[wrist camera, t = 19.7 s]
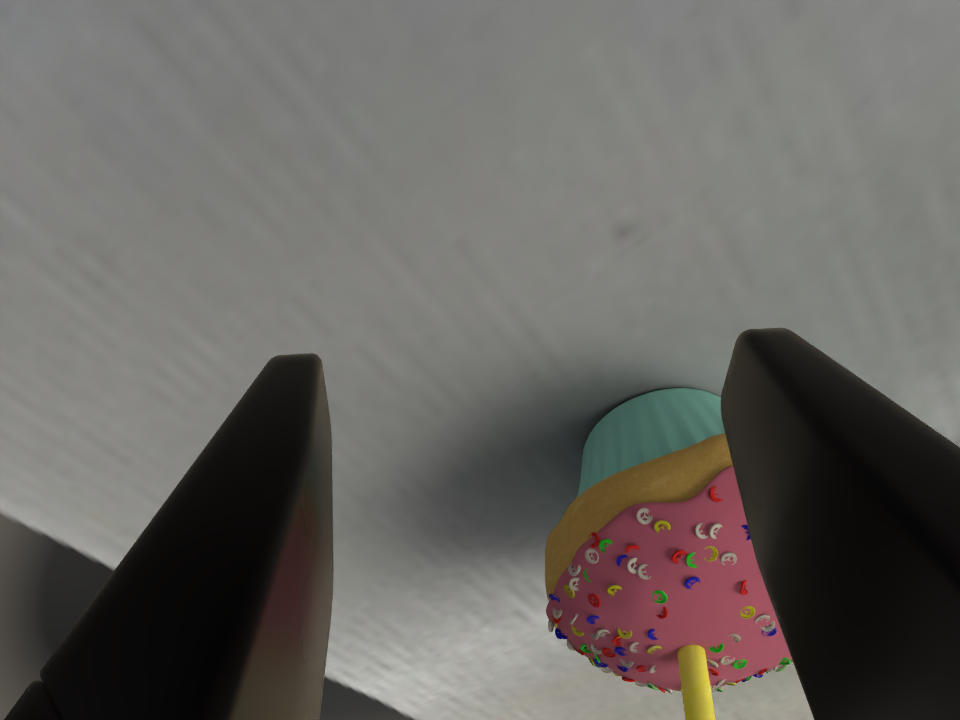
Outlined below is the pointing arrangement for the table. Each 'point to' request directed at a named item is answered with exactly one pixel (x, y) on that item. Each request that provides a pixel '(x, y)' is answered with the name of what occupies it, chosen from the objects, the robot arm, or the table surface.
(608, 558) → the cupcake
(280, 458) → the robot arm
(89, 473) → the table surface
